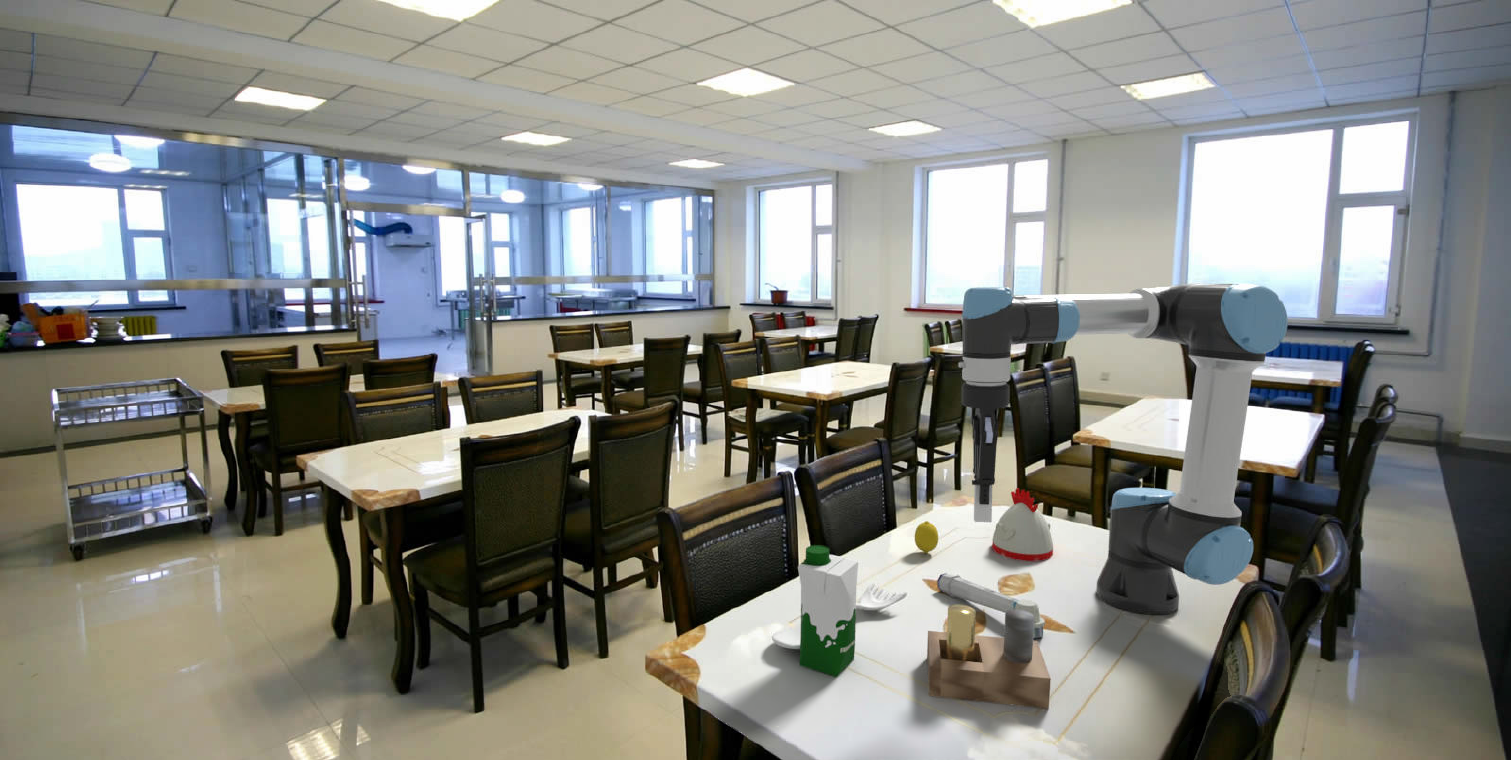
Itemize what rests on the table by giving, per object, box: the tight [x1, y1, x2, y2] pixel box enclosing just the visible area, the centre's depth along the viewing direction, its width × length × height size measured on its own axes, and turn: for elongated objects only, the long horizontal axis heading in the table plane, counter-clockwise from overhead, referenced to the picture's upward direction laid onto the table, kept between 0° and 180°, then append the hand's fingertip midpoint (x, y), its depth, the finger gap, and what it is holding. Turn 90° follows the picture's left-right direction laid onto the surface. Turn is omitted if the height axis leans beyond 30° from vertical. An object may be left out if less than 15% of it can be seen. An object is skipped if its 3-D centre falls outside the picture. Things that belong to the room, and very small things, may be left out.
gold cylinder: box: [946, 604, 977, 662], centre depth 122 cm, size 4×4×12 cm
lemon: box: [914, 520, 939, 555], centre depth 177 cm, size 6×6×8 cm
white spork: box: [771, 582, 908, 650], centre depth 140 cm, size 9×32×4 cm, turn 133°
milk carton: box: [797, 544, 859, 678], centre depth 126 cm, size 9×9×20 cm
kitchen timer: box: [991, 487, 1054, 562], centre depth 179 cm, size 14×14×15 cm
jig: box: [926, 609, 1052, 710], centre depth 121 cm, size 18×12×12 cm, turn 79°
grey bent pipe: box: [936, 572, 1046, 639], centre depth 146 cm, size 5×7×25 cm
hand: (982, 520), depth 125 cm, fingers closed
